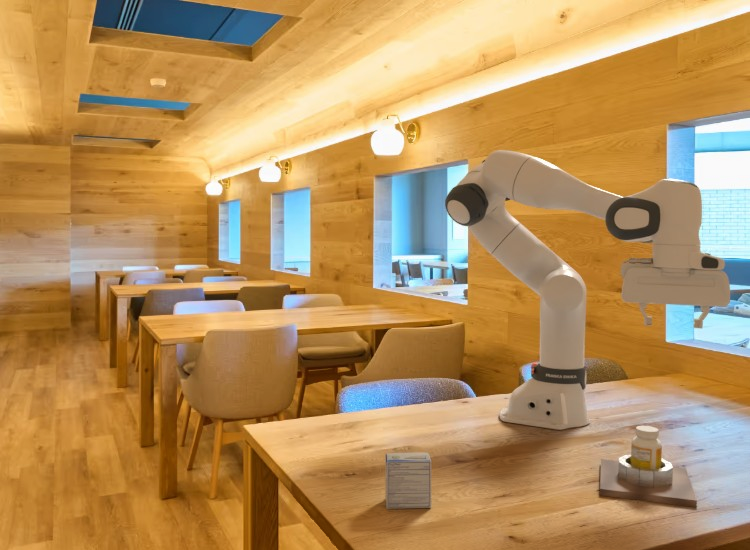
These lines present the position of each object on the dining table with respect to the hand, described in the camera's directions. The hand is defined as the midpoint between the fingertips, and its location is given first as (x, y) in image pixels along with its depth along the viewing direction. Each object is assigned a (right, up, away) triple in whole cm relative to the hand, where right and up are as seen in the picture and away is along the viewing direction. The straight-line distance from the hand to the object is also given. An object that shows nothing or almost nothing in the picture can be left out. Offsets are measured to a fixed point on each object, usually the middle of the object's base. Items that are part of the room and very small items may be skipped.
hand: (672, 326), depth 135 cm
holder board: (-9, -29, -9) cm, 32 cm away
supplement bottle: (-9, -28, -9) cm, 31 cm away
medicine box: (-55, -30, -19) cm, 66 cm away
